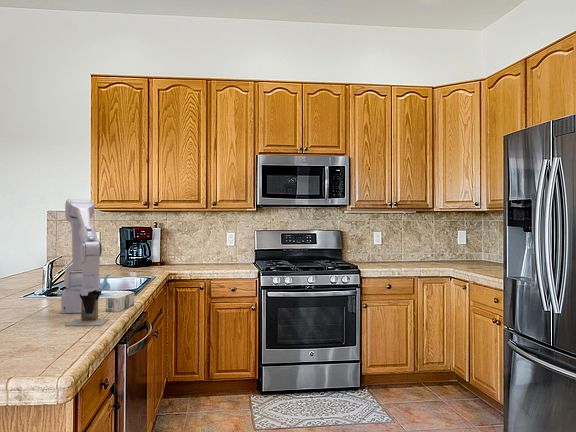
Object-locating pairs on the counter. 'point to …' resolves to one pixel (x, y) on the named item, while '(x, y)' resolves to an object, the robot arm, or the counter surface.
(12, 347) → the counter surface
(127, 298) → the syrup box
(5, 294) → the counter surface
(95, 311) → the walnut slab
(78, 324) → the grey mat
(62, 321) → the counter surface
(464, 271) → the counter surface
